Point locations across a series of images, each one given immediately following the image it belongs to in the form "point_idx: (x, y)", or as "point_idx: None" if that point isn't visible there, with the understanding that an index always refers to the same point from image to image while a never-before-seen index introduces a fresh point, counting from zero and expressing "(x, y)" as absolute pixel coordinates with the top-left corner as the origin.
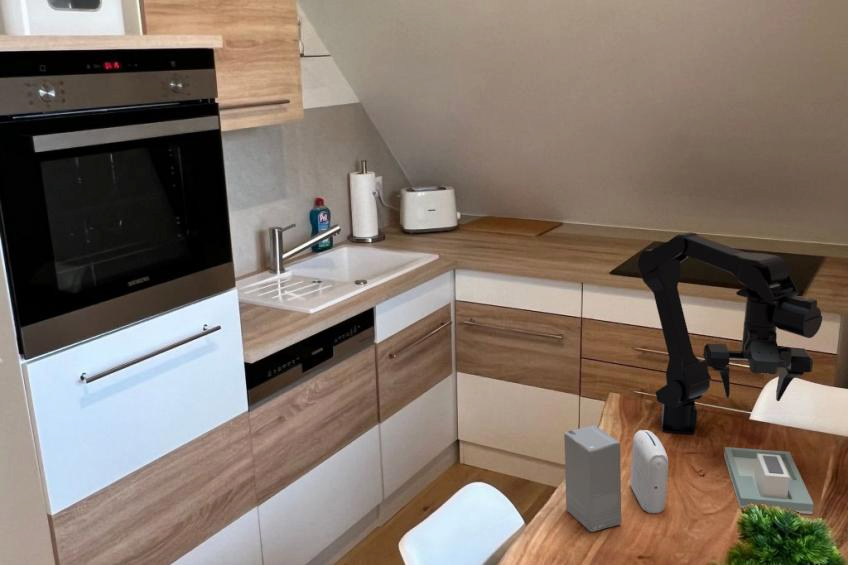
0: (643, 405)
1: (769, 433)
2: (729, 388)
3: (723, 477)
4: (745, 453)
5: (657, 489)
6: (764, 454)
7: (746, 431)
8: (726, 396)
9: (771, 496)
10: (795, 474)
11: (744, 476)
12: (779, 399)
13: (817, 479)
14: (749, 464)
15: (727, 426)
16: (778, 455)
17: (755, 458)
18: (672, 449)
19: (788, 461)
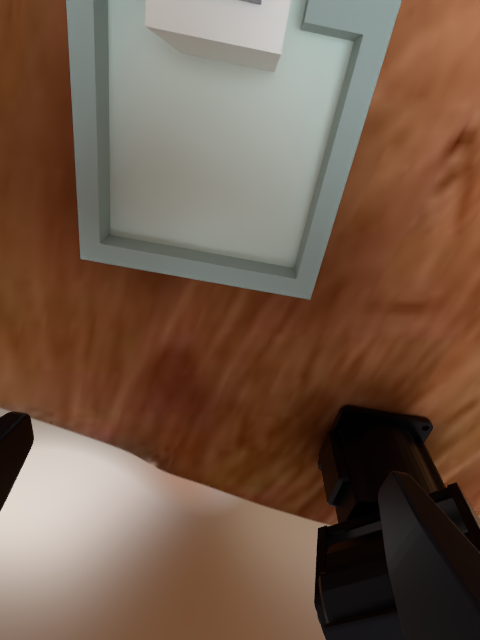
0: None
1: (118, 402)
2: (441, 555)
3: (383, 120)
4: (243, 266)
5: None
6: (238, 40)
7: (181, 414)
8: (415, 482)
9: None
10: (89, 49)
11: (342, 23)
12: (2, 420)
13: (9, 100)
14: (246, 209)
15: (225, 438)
16: (155, 21)
17: (208, 253)
18: (460, 329)
19: (98, 181)
